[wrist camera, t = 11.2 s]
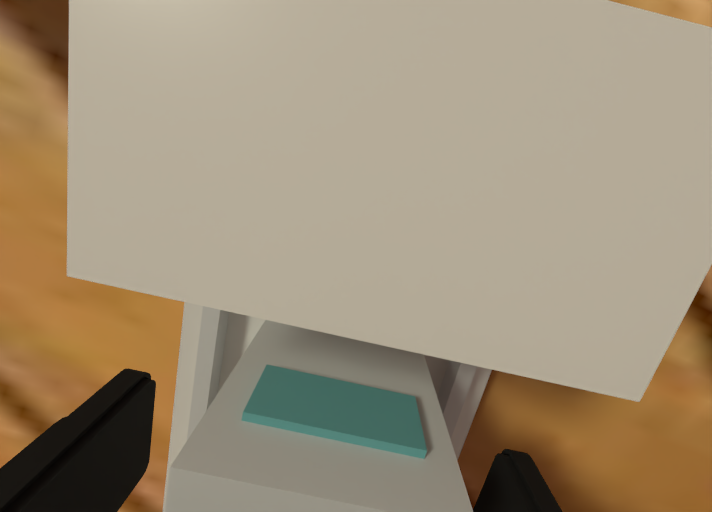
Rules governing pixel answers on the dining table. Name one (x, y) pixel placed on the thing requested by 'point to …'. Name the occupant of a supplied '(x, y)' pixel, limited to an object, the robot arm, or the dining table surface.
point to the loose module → (320, 433)
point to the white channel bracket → (397, 181)
